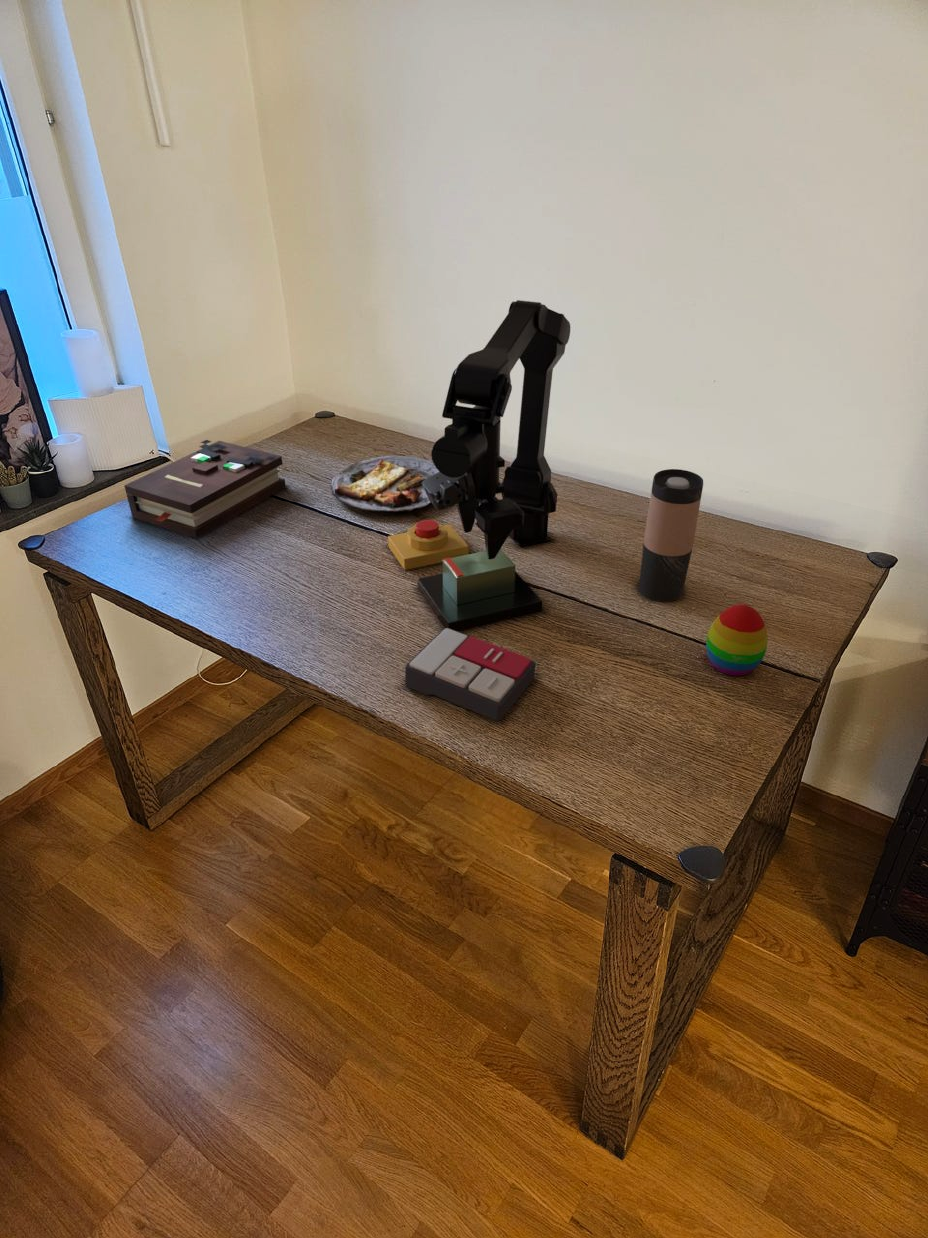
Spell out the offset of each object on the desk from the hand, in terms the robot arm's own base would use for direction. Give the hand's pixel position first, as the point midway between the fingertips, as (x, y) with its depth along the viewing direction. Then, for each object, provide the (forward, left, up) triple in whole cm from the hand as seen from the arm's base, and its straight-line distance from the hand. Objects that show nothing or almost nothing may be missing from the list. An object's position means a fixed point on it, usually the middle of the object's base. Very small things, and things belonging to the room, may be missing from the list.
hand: (479, 544), depth 126 cm
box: (0, 0, -8) cm, 8 cm away
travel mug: (-29, +9, -10) cm, 32 cm away
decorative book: (+35, -53, -10) cm, 65 cm away
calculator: (+10, +19, -10) cm, 24 cm away
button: (+2, -18, -7) cm, 19 cm away
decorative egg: (-27, +30, -10) cm, 42 cm away
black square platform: (0, 0, -10) cm, 10 cm away
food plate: (0, -44, -10) cm, 45 cm away
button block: (+2, -18, -10) cm, 21 cm away
